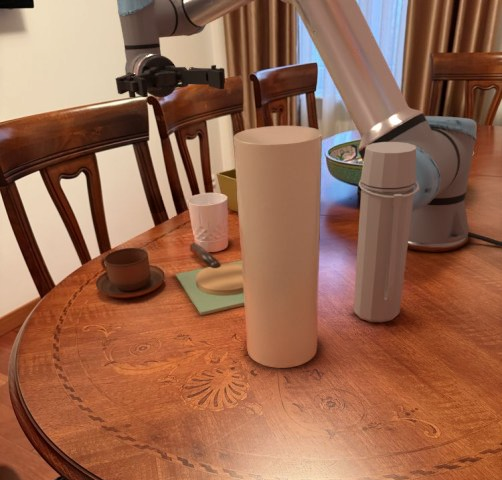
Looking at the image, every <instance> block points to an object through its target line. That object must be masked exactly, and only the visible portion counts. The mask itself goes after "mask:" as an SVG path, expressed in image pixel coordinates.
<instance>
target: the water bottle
mask: <svg viewBox="0 0 502 480" xmlns="http://www.w3.org/2000/svg"><path fill="white" fill-rule="evenodd" d="M361 169H362V170H361V175H360V179H359V182H358V187H359V188H360V189H361V190H360V203H359V204H360V205H359V219H358V234H357V250H356V251H357V252H356V263H355V264H356V266H355V280H354V293H353V294H354V295H353V296H354V297H353V312H354V314H355V315H356V316H357V317H358V318H360V319H361V320H364V321H366V322H369V323H386V322H390V321H392V320H393V319H395V318H396V317H397V316H398V315H399V314H400V313H401V304H402V296H403V287H404V281H405V280H404V279H405V271H406V263H407V254H408V248H407V247H408V239H409V230H410V222H411V214H412V206H413V197H414V194H415V193H416V192H417V191H418V190H419V184H418V183H417V181H416V147H415V145H412V144H409V143H402V142H380V143H372V144H370V145H367V146H366V149H365V156H364V162H363V161H362V167H361ZM415 186H416V190H415V191H414V189H413V187H415Z"/></svg>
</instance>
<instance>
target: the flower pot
mask: <svg viewBox="0 0 502 480" xmlns="http://www.w3.org/2000/svg"><path fill="white" fill-rule="evenodd" d="M216 178H217V183H218V187H219V191H220V192H219V193H220V194H224V195H226V196H227V198H228V209H229V210H231V211H234V212H237V213H238V199H237V183H236V167H235V168H231V169H228V170H224V171H220V172H217V173H216Z"/></svg>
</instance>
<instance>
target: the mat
mask: <svg viewBox="0 0 502 480" xmlns="http://www.w3.org/2000/svg"><path fill="white" fill-rule="evenodd" d="M230 263H239V264H242V262H241V260H237V261H232V262H231V261H230ZM205 268H206V267H203V268H198V269H193V270H189V271H183V272H179V273H178V272H177V273H175V275H174V276H175V278H176V279H177V281H178V282H179V284H180V285H181V287H182V288H183V290H184V291H185V293H186V295H187V296H188V298H189V299H190V301H191V302H192V304H193V306H194V307H195V309H196V310H197V311H198V313H199V314H200V316H205V315H210V314H215V313H218V312H222V311H226V310H231V309H234V308H240V307H244V293H243V292H242V293H238V294H233V295H213V294H208V293H205V292H203V291H201V290H200V289H199V288H198V287H197V285H196V276H197V274H198V273H199V272H200V271H201V270H203V269H205Z"/></svg>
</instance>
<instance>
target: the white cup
mask: <svg viewBox="0 0 502 480" xmlns="http://www.w3.org/2000/svg"><path fill="white" fill-rule="evenodd" d="M186 201H187V207H188V213H189V218H190V219H189V220H190V225H191V230H192V234H193V239H194V243H197V244H199V245H200V246H201V247H202V248H203V249H205V250H206V251H207V252H208V253H218V252H220V251H223V250H225V249H227V248H228V246H229V207H228V198H227V196H226V195H224V194H221V192H203V193H198V194H194V195H191V196H190V197H188V199H187V200H186Z"/></svg>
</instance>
